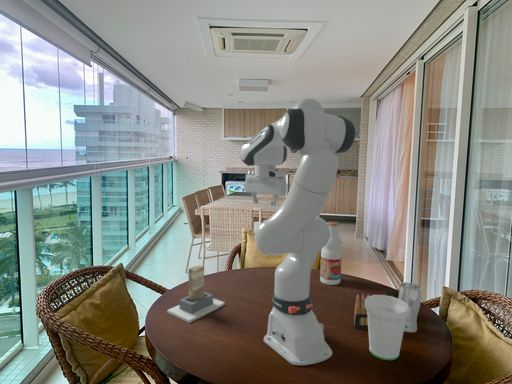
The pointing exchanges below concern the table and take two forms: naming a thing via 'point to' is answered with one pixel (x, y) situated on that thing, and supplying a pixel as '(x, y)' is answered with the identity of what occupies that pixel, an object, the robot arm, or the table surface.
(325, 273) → the fruit juice
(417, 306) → the beer glass
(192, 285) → the slat
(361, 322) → the ammunition clip
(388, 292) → the dark grey rounded lump
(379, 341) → the cup
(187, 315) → the stand
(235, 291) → the table surface
